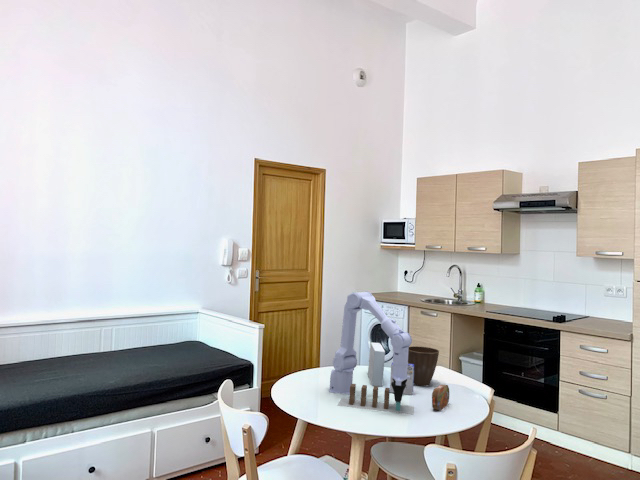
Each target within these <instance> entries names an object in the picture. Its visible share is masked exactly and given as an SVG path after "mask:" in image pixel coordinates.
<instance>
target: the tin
mask: <svg viewBox="0 0 640 480" xmlns="http://www.w3.org/2000/svg"><path fill="white" fill-rule="evenodd" d="M449 401H450V388H449V385H448V384H439V385H438V386H437V387H434V389H433V391H432V393H431V408H432V409H433V410H434V411H438V412H441V411H443V410H444V408H446V407H447V406H448V404H449Z"/></svg>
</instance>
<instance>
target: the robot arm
mask: <svg viewBox="0 0 640 480" xmlns="http://www.w3.org/2000/svg"><path fill="white" fill-rule="evenodd" d="M343 308H344V309H343V317H342V318H343V319H342V328H341V329H342V330H341V338H340V347H339V348H338V349H337V350H336V351H335V354H334V357H333V360H332V367H333V369H331V371H330V378H329V391H328V392H329V393H331V394H332V393H334V394H340V395H341V394H343V395H348V396H350V386H351V384H353V379H354V371H355V368H356V367H357V365H358V359H357V351H356V350H355V349H354V345H355V334H356V326H357V325H356V323H357V314H358V313H359V312H360V311H361V310H368V311H369V312H370V313H371V314H372V315H373V316H374V317H375V318H376V320H378V321H379V322H380V327H381V329H382V331H383V332H384V333H385V334H386V335H387V337H388V338H389V339H390V345H391V346H392V352H393V353H392V362H393V370H392V378H393V381H394V382H391V385H392V388H393V391H394V393H393V394H394V396H393V397H394V401H395V403H396V402H402V398H403V395H404V394H403V391H404V389H405V387H406V382H407V379H410V376H407V369H408V349H409V347H411V346H412V343H413V339H412V335H410V333H409V332H407V331H404V330H403V328H401V327H400V326H399V325H398V323H396V322H397V321H396V319H393V318H391V317H388V316H387V315H386V314H385V312H384V310H383V309H382V308H381V306H380V305H379V304H378V303H377V301H376V297H375V296H373V294H372V292H369V291H363V292H362V291H360V292H359V291H357V292H356V291H355V292H351V293H350V294H348V295H347V297H346V302H345V305H344V307H343Z"/></svg>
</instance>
